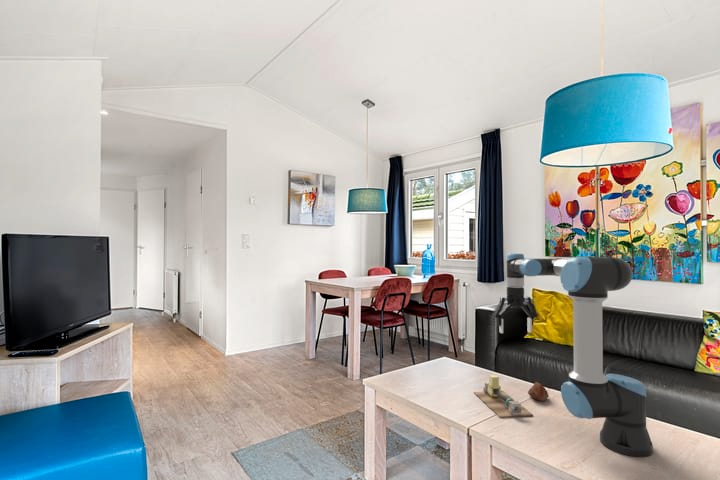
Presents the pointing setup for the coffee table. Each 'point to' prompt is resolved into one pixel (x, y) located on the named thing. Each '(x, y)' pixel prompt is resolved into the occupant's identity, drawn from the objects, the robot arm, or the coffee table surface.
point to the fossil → (538, 392)
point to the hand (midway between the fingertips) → (515, 332)
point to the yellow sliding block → (493, 385)
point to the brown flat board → (502, 404)
